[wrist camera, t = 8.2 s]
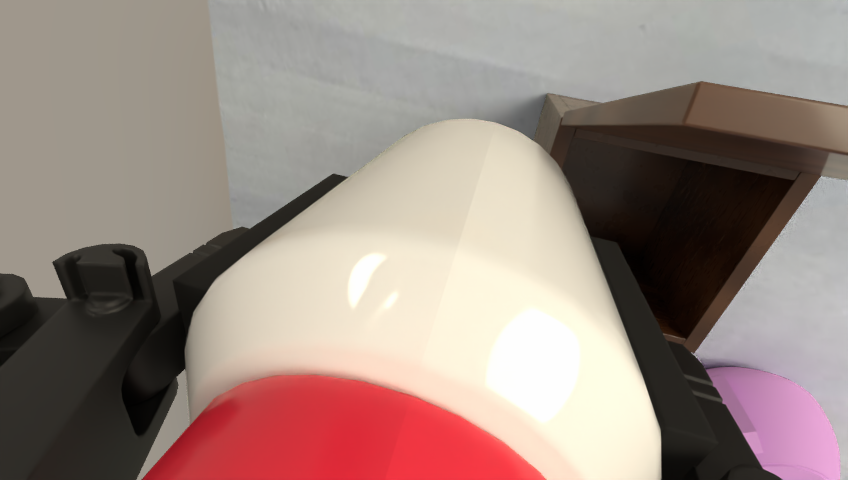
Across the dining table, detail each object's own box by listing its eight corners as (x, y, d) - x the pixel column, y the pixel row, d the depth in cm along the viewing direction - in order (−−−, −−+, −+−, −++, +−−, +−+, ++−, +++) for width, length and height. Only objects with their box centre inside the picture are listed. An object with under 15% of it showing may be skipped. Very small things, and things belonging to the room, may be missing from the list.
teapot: (616, 362, 44) (646, 459, 34) (771, 317, 37) (870, 422, 27) (687, 474, 50) (732, 587, 39) (834, 452, 43) (935, 582, 32)
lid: (1720, 316, 5) (1802, 266, 5) (680, 125, 7) (699, 80, 7) (829, 177, 19) (838, 162, 19) (560, 125, 21) (564, 111, 21)
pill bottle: (351, 280, 16) (83, 646, 6) (379, 89, 12) (-231, 263, 2) (529, 339, 15) (547, 860, 5) (621, 156, 11) (1288, 851, 1)
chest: (642, 262, 38) (694, 353, 26) (506, 230, 39) (501, 303, 28) (715, 123, 31) (827, 167, 19) (547, 92, 32) (561, 117, 21)
